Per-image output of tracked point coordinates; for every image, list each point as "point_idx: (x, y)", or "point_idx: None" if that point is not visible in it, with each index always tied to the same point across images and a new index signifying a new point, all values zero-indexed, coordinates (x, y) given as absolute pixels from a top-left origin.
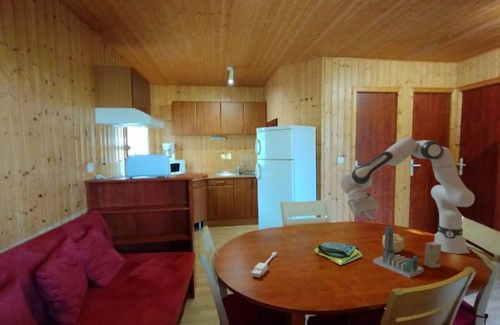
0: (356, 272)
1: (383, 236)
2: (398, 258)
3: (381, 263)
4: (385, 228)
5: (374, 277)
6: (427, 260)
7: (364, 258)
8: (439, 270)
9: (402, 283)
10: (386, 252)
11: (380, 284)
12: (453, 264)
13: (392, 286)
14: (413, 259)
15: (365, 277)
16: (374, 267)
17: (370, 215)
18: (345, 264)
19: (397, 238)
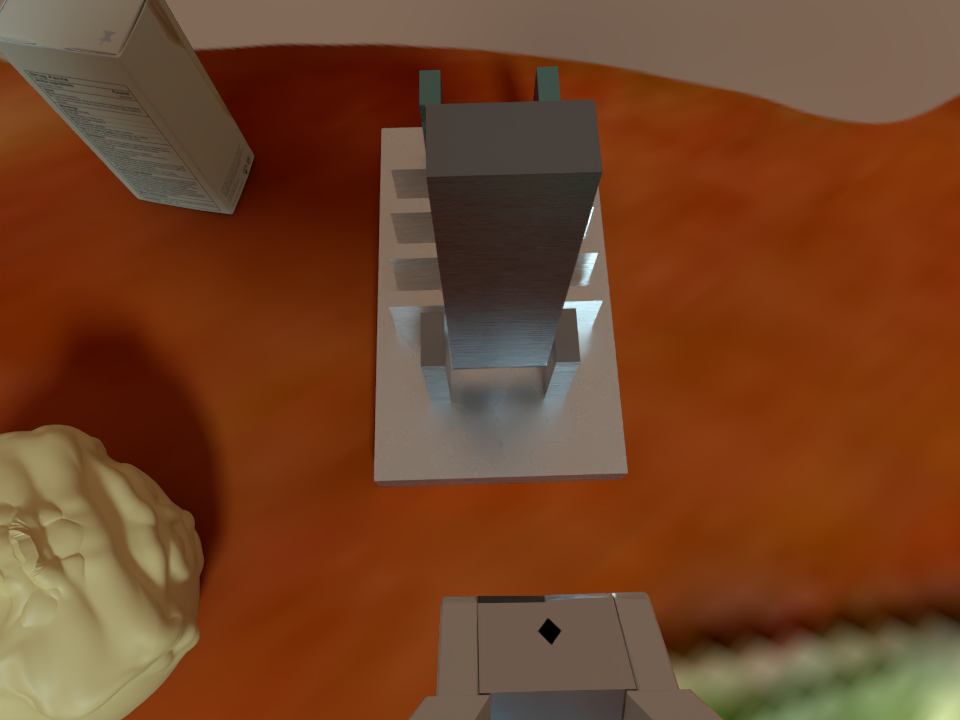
0: (944, 413)
1: (104, 687)
2: None
3: (615, 377)
4: (595, 187)
5: (849, 276)
6: (223, 158)
7: None
8: (245, 112)
9: (712, 126)
10: (576, 318)
11: (887, 188)
12: (21, 115)
13: (821, 134)
14: None
15: (926, 312)
16: (697, 400)
17: (662, 660)
18: (943, 604)
19: (39, 487)
